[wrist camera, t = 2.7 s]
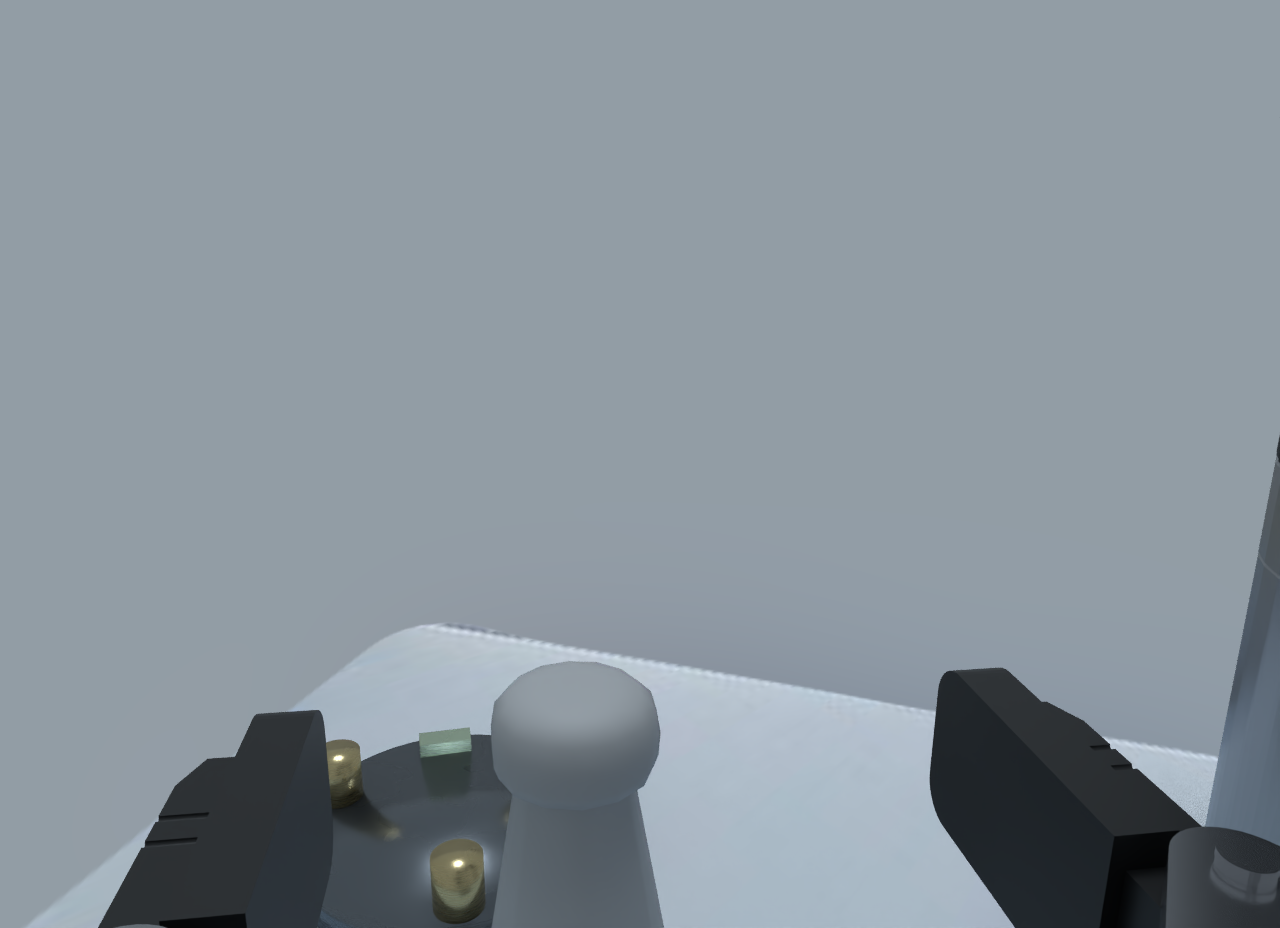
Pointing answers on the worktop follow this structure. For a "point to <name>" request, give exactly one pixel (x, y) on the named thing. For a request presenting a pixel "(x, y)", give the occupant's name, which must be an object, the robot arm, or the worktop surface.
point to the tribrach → (416, 834)
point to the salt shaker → (575, 799)
